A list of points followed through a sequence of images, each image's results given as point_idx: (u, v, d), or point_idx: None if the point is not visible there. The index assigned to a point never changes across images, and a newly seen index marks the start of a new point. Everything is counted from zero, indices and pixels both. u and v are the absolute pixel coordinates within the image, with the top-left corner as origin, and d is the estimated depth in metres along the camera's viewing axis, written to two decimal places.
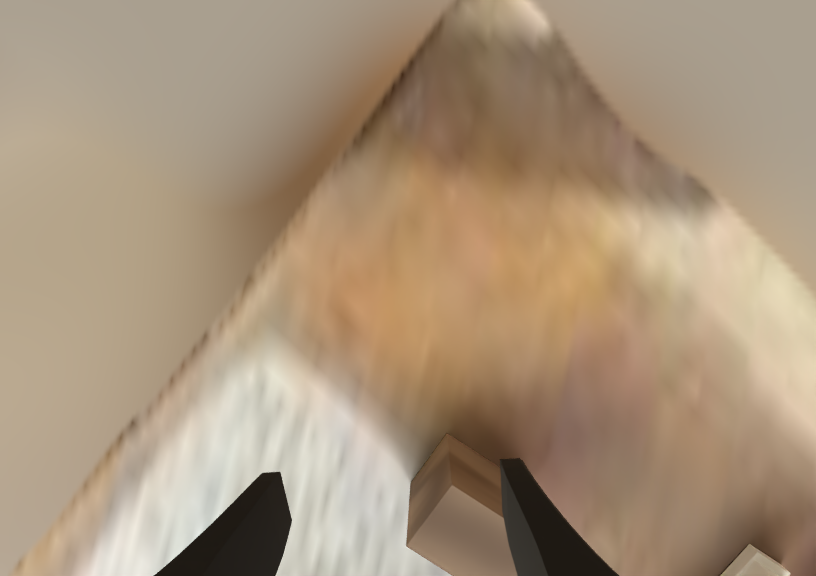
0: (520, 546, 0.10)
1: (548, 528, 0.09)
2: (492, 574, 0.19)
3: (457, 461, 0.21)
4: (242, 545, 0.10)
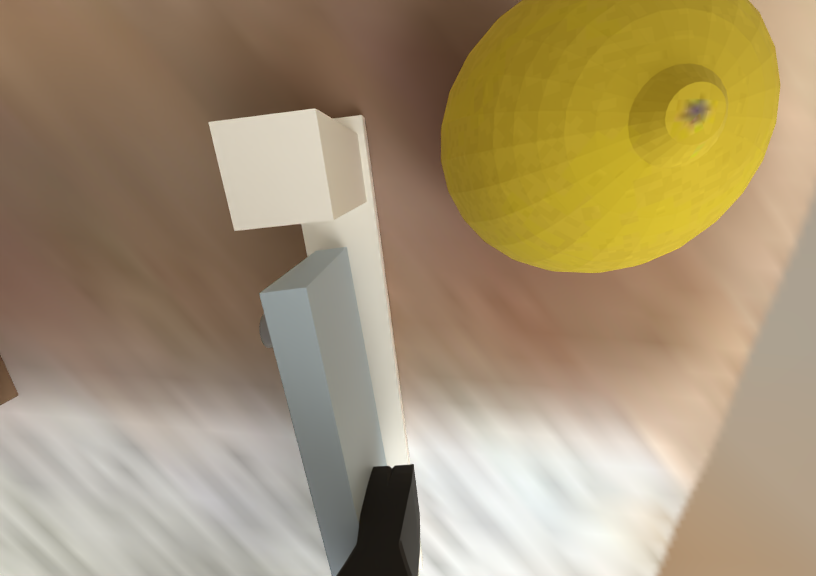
0: None
1: (374, 536, 0.09)
2: None
3: None
4: (406, 538, 0.10)
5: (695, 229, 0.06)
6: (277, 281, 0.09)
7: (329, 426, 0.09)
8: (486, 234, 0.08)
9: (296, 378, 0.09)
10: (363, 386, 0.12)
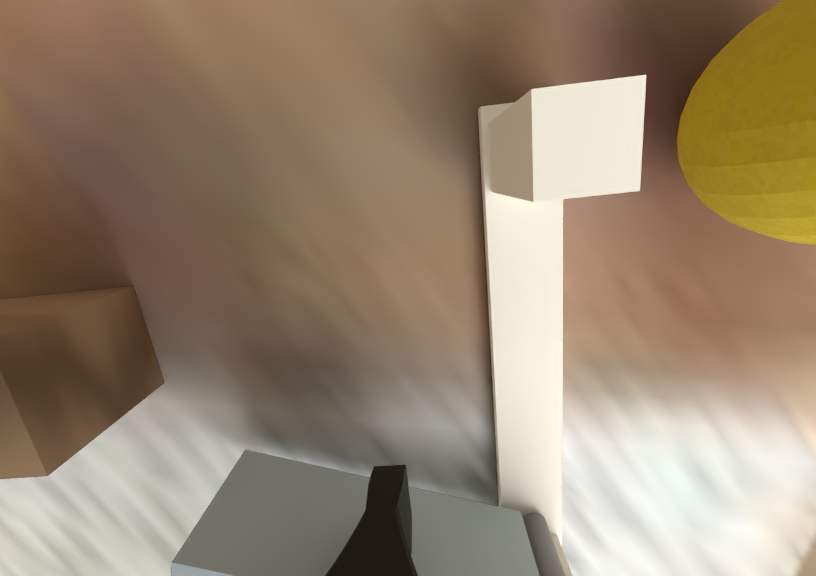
0: None
1: (379, 536, 0.09)
2: None
3: None
4: None
5: None
6: None
7: None
8: (784, 206, 0.08)
9: None
10: (347, 500, 0.14)
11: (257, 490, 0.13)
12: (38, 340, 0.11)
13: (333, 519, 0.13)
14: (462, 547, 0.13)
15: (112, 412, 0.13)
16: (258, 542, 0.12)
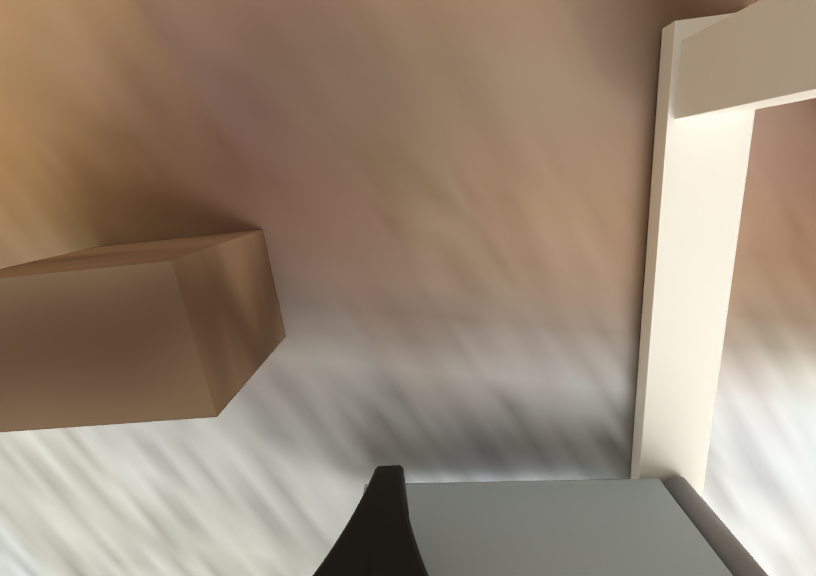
0: None
1: (388, 535, 0.09)
2: (136, 379, 0.09)
3: (50, 259, 0.11)
4: None
5: None
6: None
7: None
8: None
9: None
10: (481, 509, 0.13)
11: None
12: (204, 269, 0.10)
13: (475, 532, 0.13)
14: (613, 529, 0.12)
15: (254, 359, 0.12)
16: None
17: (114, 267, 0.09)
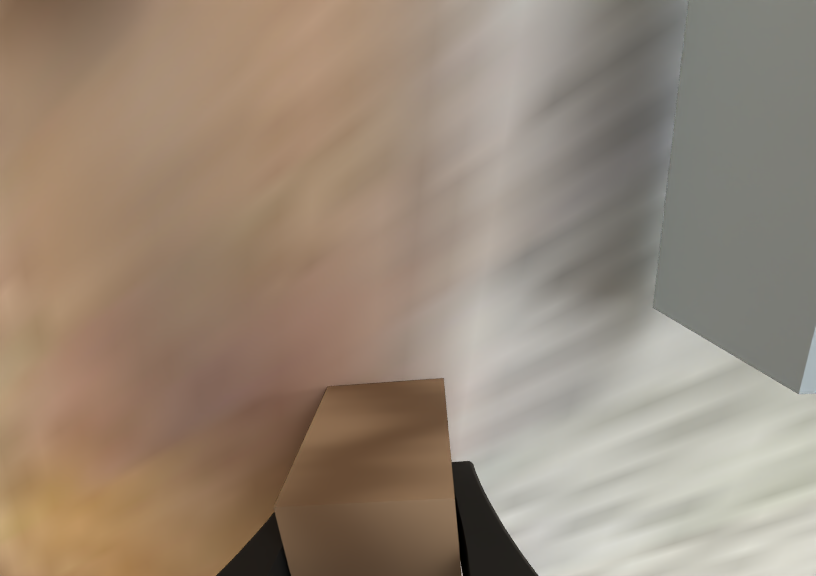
0: (462, 548, 0.10)
1: (481, 531, 0.09)
2: (406, 561, 0.09)
3: None
4: None
5: None
6: None
7: None
8: None
9: None
10: (705, 146, 0.09)
11: (698, 284, 0.09)
12: (309, 468, 0.10)
13: (733, 160, 0.08)
14: None
15: (435, 427, 0.11)
16: (769, 271, 0.07)
17: (286, 553, 0.09)
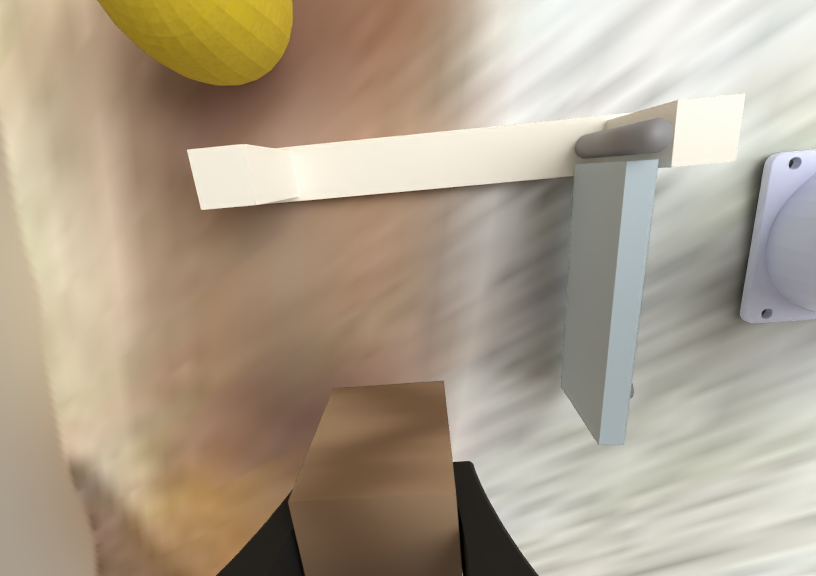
0: (462, 548, 0.10)
1: (482, 531, 0.09)
2: (411, 551, 0.10)
3: None
4: None
5: None
6: None
7: (610, 371, 0.15)
8: (248, 43, 0.12)
9: (620, 401, 0.15)
10: (575, 318, 0.18)
11: (574, 383, 0.18)
12: (319, 466, 0.10)
13: (582, 332, 0.17)
14: (590, 230, 0.16)
15: (437, 427, 0.11)
16: (591, 388, 0.16)
17: (299, 544, 0.10)
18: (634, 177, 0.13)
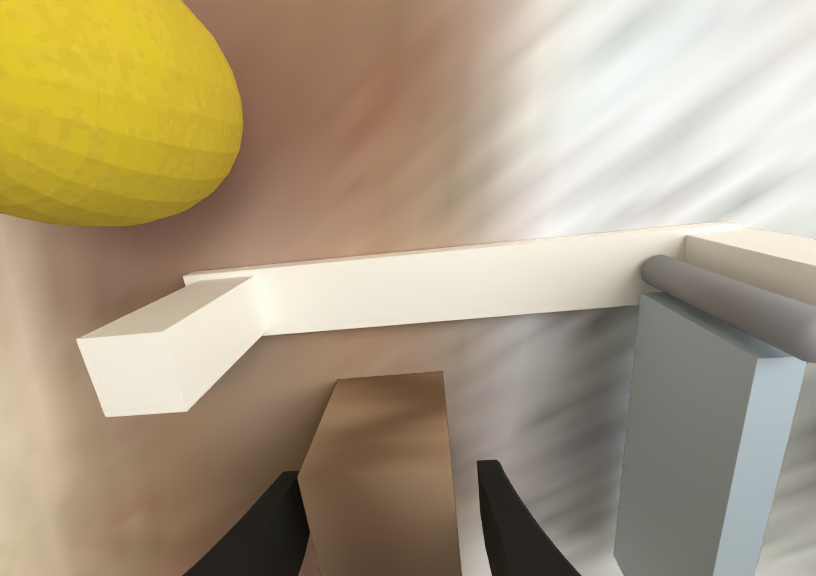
0: (493, 547, 0.10)
1: (517, 529, 0.09)
2: (411, 523, 0.10)
3: None
4: (268, 544, 0.10)
5: None
6: None
7: None
8: (161, 188, 0.08)
9: None
10: (641, 493, 0.13)
11: (638, 574, 0.13)
12: (325, 446, 0.11)
13: (654, 524, 0.12)
14: (671, 401, 0.11)
15: (435, 412, 0.12)
16: None
17: (308, 517, 0.10)
18: (767, 380, 0.08)
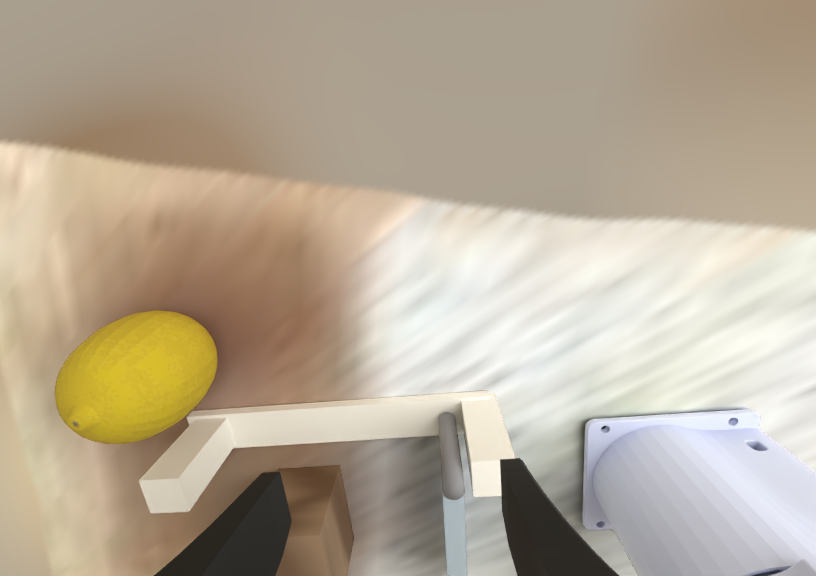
0: (520, 546, 0.10)
1: (548, 528, 0.09)
2: (302, 561, 0.20)
3: None
4: (242, 545, 0.10)
5: (130, 384, 0.15)
6: None
7: None
8: (178, 420, 0.18)
9: None
10: None
11: None
12: None
13: None
14: None
15: (324, 497, 0.22)
16: None
17: None
18: (449, 501, 0.18)
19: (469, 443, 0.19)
